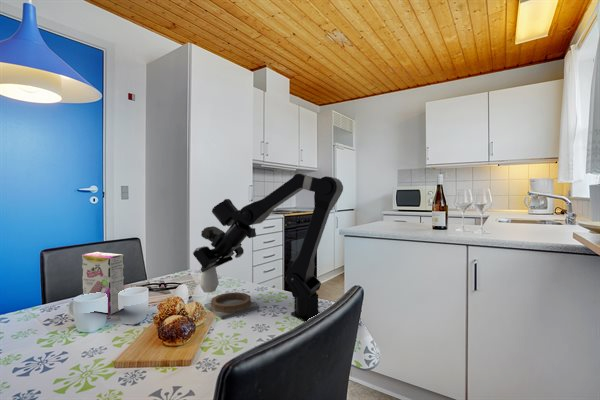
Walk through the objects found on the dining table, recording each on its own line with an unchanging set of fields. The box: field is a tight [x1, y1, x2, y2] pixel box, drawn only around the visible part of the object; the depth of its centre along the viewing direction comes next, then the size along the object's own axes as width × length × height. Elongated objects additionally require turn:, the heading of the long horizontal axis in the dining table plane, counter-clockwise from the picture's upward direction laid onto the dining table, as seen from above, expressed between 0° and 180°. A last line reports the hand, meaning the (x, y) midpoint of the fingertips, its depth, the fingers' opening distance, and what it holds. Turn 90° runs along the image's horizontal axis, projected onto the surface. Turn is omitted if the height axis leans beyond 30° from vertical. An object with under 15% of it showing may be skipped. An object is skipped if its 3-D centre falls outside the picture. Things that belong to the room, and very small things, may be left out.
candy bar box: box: [81, 251, 125, 316], centre depth 87 cm, size 11×5×16 cm, turn 71°
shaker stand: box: [203, 292, 260, 320], centre depth 89 cm, size 12×12×3 cm
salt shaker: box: [199, 267, 219, 293], centre depth 96 cm, size 6×6×13 cm
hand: (205, 269), depth 96 cm, fingers closed on salt shaker, 3 cm apart
